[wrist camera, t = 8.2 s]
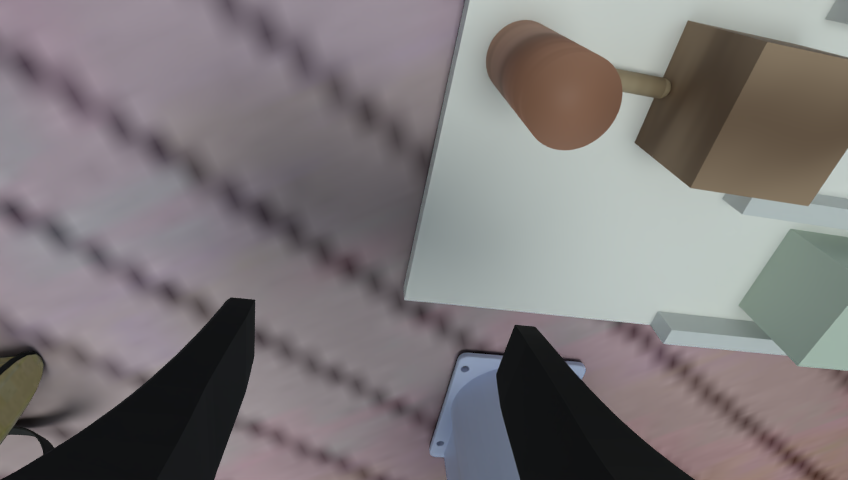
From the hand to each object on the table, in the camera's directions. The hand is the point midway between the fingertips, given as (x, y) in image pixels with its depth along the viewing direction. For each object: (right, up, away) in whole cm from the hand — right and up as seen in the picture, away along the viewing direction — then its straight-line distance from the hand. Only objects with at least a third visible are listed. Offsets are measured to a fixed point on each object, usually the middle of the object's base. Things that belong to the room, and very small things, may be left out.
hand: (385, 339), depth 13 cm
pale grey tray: (+14, +6, +10) cm, 18 cm away
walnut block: (+10, +9, +6) cm, 15 cm away
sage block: (+21, +1, +13) cm, 25 cm away
